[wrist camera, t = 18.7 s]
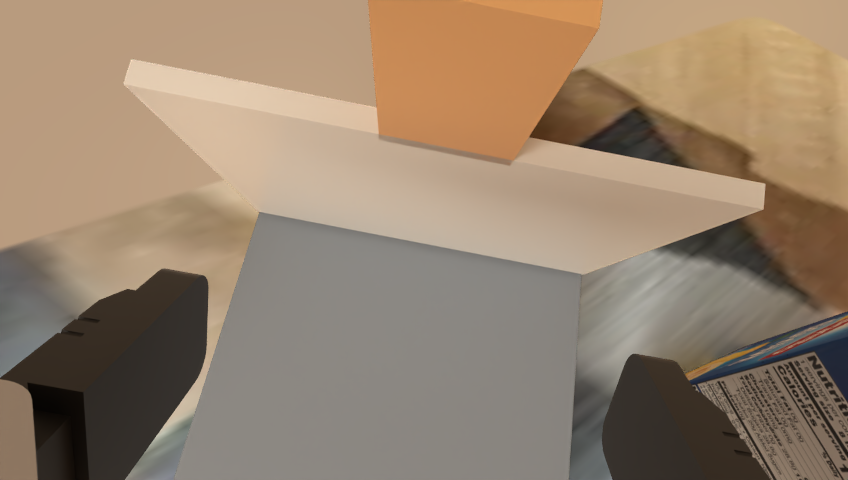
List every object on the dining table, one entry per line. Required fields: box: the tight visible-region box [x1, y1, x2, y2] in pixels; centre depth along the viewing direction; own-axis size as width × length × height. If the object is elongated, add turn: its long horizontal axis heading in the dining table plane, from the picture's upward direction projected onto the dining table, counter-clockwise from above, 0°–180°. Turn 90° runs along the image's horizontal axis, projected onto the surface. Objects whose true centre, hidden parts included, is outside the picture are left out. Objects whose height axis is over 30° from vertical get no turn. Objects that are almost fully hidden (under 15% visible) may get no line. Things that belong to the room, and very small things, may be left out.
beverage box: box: [685, 312, 848, 480], centre depth 30 cm, size 7×11×22 cm, turn 112°
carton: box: [174, 212, 581, 480], centre depth 34 cm, size 19×16×10 cm
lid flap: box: [124, 0, 765, 274], centre depth 21 cm, size 19×23×2 cm
